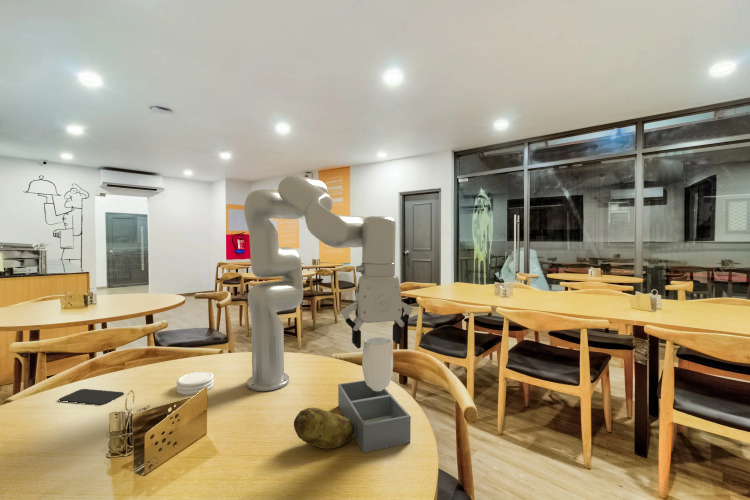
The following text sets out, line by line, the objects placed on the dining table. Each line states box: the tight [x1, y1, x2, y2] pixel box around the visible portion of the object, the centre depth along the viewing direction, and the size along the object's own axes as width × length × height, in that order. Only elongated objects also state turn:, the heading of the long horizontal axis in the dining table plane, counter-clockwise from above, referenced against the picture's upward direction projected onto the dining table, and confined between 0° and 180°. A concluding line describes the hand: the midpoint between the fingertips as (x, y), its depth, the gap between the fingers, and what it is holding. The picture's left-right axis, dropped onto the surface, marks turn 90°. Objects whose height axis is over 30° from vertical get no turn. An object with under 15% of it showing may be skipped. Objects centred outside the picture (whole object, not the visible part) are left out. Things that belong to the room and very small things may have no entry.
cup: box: [361, 336, 394, 391], centre depth 81 cm, size 7×7×21 cm
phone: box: [58, 388, 125, 406], centre depth 100 cm, size 7×1×15 cm
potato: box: [293, 407, 354, 450], centre depth 77 cm, size 8×13×8 cm, turn 87°
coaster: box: [176, 371, 215, 396], centre depth 107 cm, size 10×10×4 cm
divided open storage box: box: [337, 379, 412, 454], centre depth 87 cm, size 22×11×6 cm, turn 20°
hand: (377, 344), depth 81 cm, fingers open, 9 cm apart
